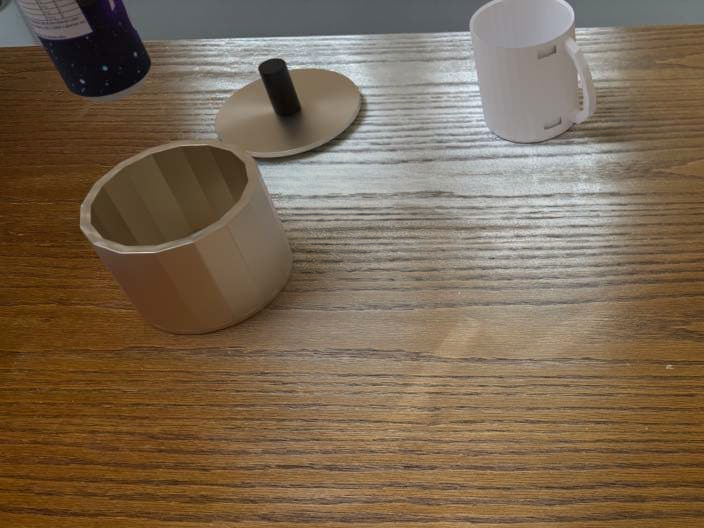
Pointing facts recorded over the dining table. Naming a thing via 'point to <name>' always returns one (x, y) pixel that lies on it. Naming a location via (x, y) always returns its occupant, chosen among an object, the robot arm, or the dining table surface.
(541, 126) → the mug
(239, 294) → the pot
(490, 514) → the dining table surface
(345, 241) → the dining table surface
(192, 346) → the dining table surface
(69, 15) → the beverage can
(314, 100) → the lid
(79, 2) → the robot arm
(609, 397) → the dining table surface
